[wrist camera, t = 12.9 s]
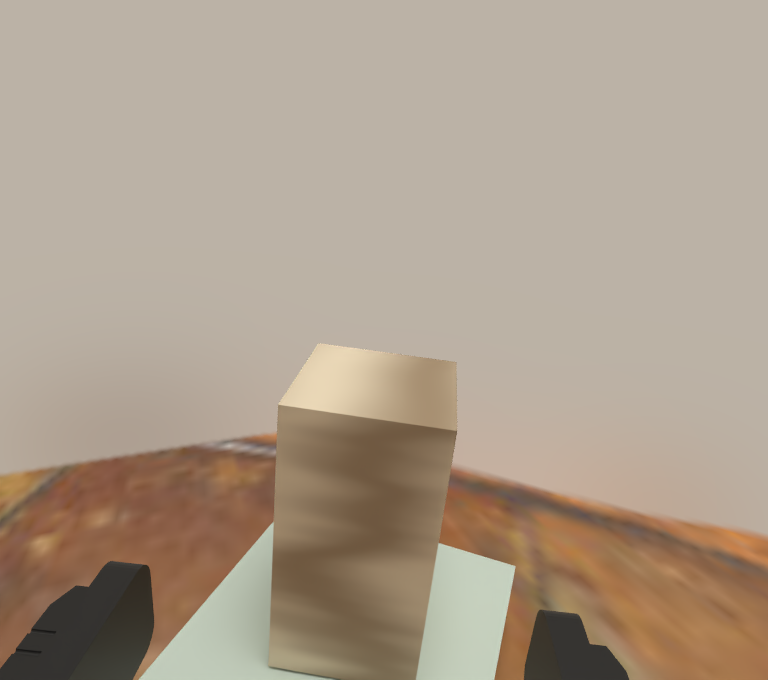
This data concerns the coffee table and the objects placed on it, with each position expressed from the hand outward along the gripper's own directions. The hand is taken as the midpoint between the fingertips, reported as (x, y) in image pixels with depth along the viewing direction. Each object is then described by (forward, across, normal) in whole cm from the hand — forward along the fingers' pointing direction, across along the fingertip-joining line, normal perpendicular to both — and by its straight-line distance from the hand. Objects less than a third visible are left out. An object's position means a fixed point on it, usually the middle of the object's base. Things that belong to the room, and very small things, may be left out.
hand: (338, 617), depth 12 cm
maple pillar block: (+7, 0, +8) cm, 11 cm away
